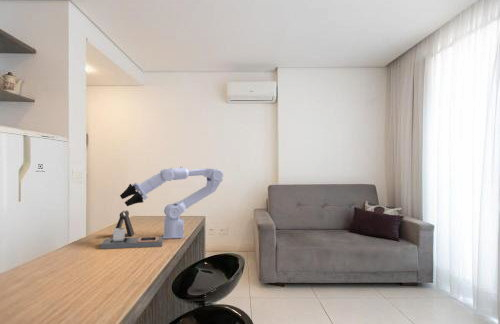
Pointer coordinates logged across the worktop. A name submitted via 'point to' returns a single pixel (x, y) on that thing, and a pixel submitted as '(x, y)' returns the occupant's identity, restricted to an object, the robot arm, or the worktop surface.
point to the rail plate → (133, 242)
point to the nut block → (119, 235)
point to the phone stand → (127, 224)
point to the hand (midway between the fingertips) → (123, 200)
